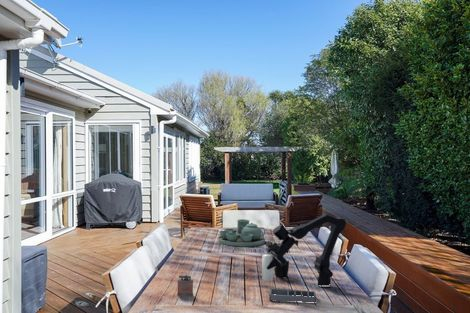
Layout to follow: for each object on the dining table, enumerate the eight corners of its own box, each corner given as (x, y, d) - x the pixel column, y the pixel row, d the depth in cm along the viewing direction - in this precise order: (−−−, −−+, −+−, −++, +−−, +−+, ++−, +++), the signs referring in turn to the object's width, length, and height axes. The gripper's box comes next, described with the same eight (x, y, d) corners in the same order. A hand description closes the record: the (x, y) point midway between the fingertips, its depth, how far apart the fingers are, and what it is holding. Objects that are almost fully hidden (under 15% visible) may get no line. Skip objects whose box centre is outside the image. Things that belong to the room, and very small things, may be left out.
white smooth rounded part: (273, 278, 212) (273, 254, 212) (273, 281, 206) (273, 256, 207) (262, 277, 213) (262, 253, 213) (261, 280, 207) (262, 256, 207)
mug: (273, 274, 238) (273, 257, 239) (288, 274, 238) (288, 258, 238) (273, 280, 226) (274, 262, 227) (289, 280, 226) (289, 263, 226)
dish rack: (315, 297, 199) (315, 290, 199) (316, 304, 189) (316, 296, 189) (270, 294, 202) (270, 287, 202) (269, 300, 192) (269, 293, 192)
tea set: (211, 239, 341) (211, 220, 342) (251, 236, 358) (251, 218, 359) (230, 248, 305) (230, 227, 306) (274, 245, 323) (274, 225, 323)
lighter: (193, 293, 201) (193, 274, 201) (192, 295, 197) (193, 276, 197) (177, 293, 200) (177, 273, 200) (176, 295, 197) (177, 275, 197)
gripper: (270, 232, 220) (250, 252, 217) (281, 239, 202) (260, 261, 199) (283, 246, 222) (264, 266, 219) (295, 254, 203) (274, 276, 201)
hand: (265, 267), depth 210 cm, fingers closed on white smooth rounded part, 6 cm apart
